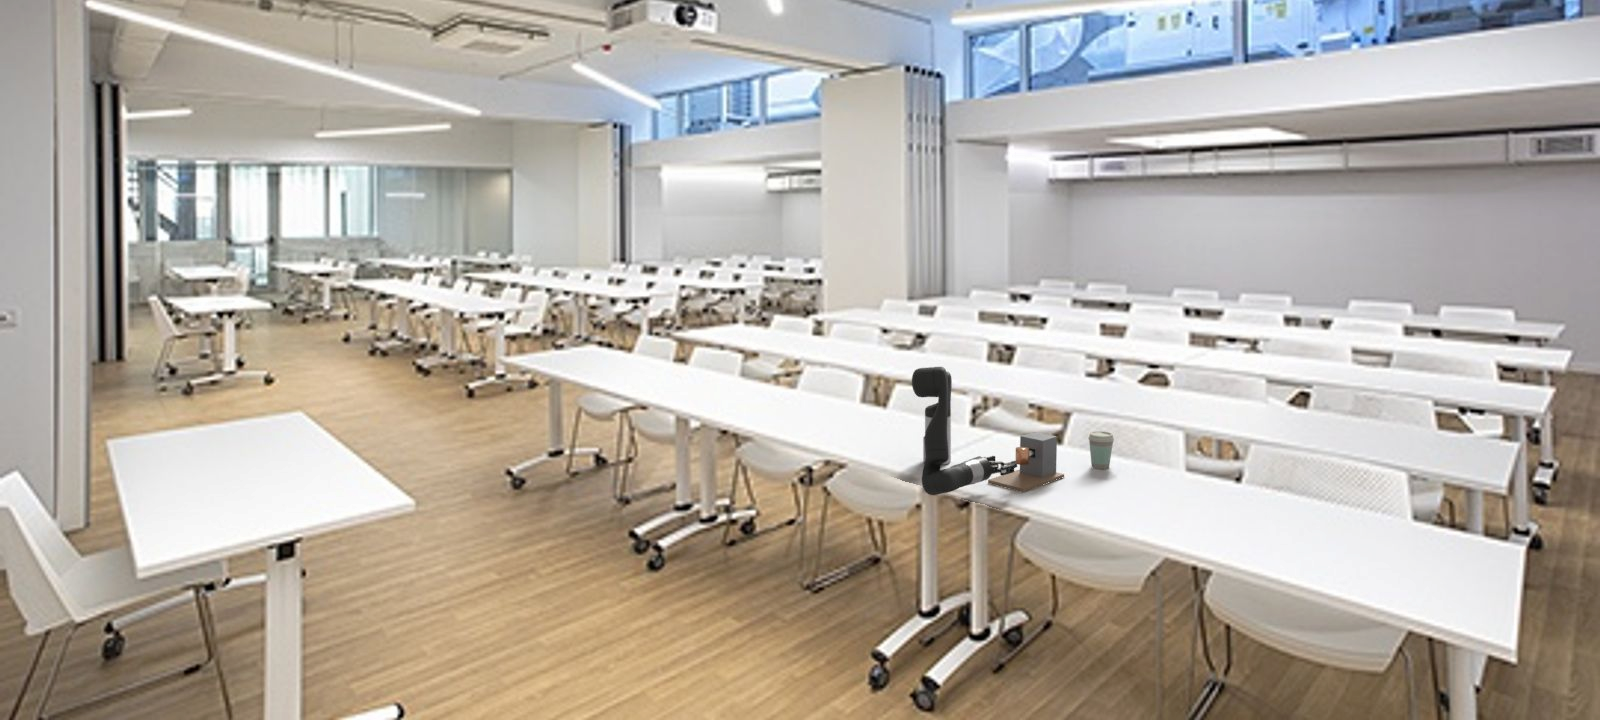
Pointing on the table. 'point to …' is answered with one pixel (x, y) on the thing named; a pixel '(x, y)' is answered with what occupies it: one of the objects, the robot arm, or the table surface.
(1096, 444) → the coffee cup
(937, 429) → the robot arm
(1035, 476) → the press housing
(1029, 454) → the plunger
